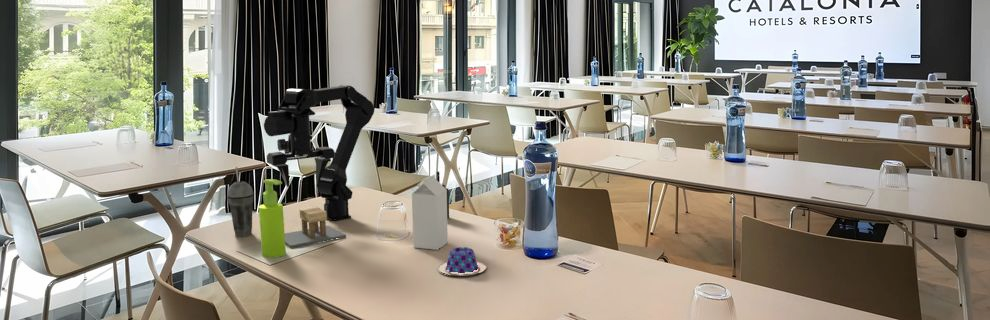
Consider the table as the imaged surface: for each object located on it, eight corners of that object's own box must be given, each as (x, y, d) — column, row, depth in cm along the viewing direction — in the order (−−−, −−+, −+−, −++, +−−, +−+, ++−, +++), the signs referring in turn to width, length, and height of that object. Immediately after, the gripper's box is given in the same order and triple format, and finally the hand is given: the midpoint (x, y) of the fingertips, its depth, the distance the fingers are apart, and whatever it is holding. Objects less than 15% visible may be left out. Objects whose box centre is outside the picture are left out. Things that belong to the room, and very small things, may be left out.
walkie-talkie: (442, 215, 219) (441, 169, 216) (450, 217, 217) (449, 170, 214) (432, 219, 215) (431, 171, 212) (440, 221, 213) (439, 173, 210)
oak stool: (327, 235, 196) (326, 211, 195) (310, 238, 193) (309, 214, 192) (317, 229, 202) (316, 206, 200) (300, 233, 199) (299, 209, 197)
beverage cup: (261, 231, 203) (256, 163, 200) (250, 238, 196) (244, 169, 193) (237, 230, 204) (231, 163, 200) (225, 237, 197) (219, 168, 193)
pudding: (435, 264, 175) (435, 244, 174) (483, 261, 177) (482, 241, 176) (439, 281, 164) (439, 259, 163) (490, 277, 165) (490, 256, 164)
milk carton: (447, 242, 191) (446, 175, 188) (437, 250, 185) (435, 180, 181) (424, 240, 194) (422, 173, 190) (413, 248, 187) (411, 178, 183)
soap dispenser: (275, 259, 178) (270, 183, 174) (257, 255, 182) (252, 180, 178) (293, 253, 183) (288, 179, 179) (275, 249, 187) (270, 176, 183)
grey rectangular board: (328, 228, 206) (328, 225, 206) (346, 237, 197) (345, 234, 197) (275, 237, 197) (275, 235, 197) (291, 248, 187) (290, 245, 187)
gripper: (319, 126, 214) (321, 175, 217) (258, 131, 203) (262, 184, 205) (334, 130, 205) (337, 182, 208) (271, 136, 194) (275, 191, 197)
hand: (303, 184), depth 205 cm, fingers open, 9 cm apart
